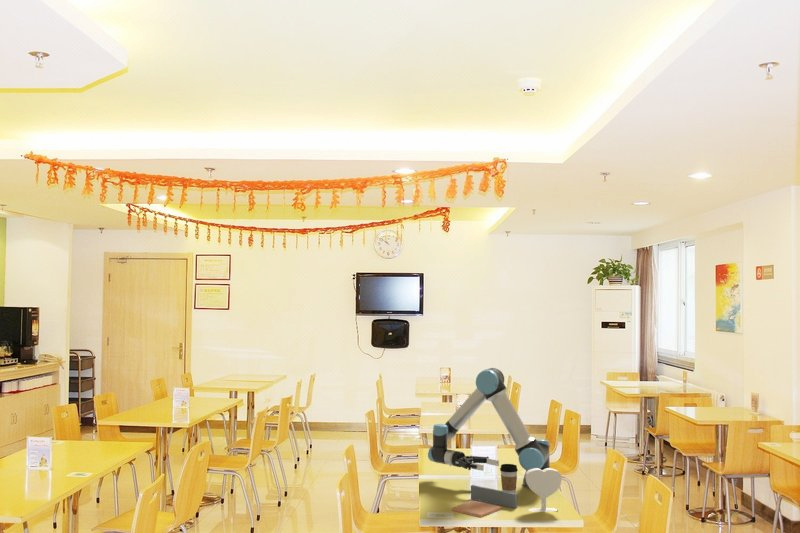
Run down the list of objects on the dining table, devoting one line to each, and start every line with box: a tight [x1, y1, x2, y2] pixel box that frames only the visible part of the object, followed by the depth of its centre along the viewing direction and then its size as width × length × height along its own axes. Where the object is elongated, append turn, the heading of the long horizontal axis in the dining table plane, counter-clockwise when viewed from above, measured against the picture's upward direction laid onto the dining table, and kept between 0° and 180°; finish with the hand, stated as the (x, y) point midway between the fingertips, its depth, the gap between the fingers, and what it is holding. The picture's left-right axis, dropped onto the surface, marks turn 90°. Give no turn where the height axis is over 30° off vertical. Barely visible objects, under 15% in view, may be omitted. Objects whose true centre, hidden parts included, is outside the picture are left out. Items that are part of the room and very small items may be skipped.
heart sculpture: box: [524, 467, 562, 513], centre depth 303 cm, size 16×5×18 cm, turn 93°
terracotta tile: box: [450, 499, 502, 518], centre depth 302 cm, size 16×16×1 cm
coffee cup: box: [499, 463, 518, 494], centre depth 324 cm, size 8×8×15 cm
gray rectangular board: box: [470, 484, 518, 509], centre depth 313 cm, size 2×24×6 cm, turn 50°
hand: (490, 465), depth 331 cm, fingers open, 13 cm apart
